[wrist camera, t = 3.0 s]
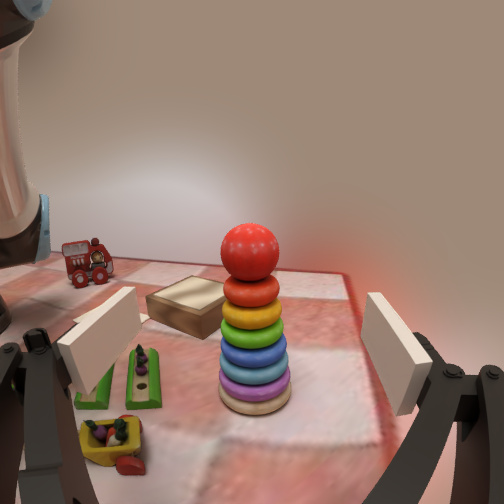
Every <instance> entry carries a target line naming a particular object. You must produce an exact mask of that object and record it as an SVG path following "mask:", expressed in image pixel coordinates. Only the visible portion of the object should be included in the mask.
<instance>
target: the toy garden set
mask: <svg viewBox="0 0 504 504" xmlns="http://www.w3.org/2000/svg"><path fill="white" fill-rule="evenodd" d="M114 363H115V362H114ZM113 369H114V364H113V365H112V366H111V367H110V369H109V370H108V371H107V372H106V374H105V375H104V376H103V377H102V379H101V380H100V381H99V382H98V384H97V385H96V386H95V387H94V389H93V390H92V391H91V393H90V394H89V395H86V394H82V393H79V392H77V393H76V397H75V401H74V405H75V407H76V409H108V404H109V396H110V389H111V382H112V375H113ZM11 384H12V382H11ZM13 387H14V386H13V384H12V388H13ZM125 405H126V409H127V410H137V409H152V408H162V402H161V389H160V375H159V356H158V352H157V351H156V350H155V349H153V348H149V349H147V350H144V349H143V348H142V347H141V345H139V344H138V346H137V348H136V350H135V349H134V350H132V351H131V352H130V356H129V366H128V376H127V389H126V404H125ZM83 421H84V420H83ZM77 432H78V436H79V440H80V445H81V449H82V453H83V456H84V457H86V458H88V459H90V460H92V461H94V462H96V463H98V464H100V465H102V466H105V467H111V466H113V465H115V464H116V470H117V471H118V473H120V474H122V475H144V474H145V467H144V463H143V461H142V460H140V459H138V458H136V457H133V455H134V456H136V455H137V454H138V453H139V452H140V450H141V443H140V433H141V432H142V423H141V421H140V419H139V417H137V416H133V415H122V416H120V417H119V418H118V419H111V420H101V421H92V420H87V421H84V422H82V424H81V430H77ZM23 449H24V450H25V448H24V445H23Z"/></svg>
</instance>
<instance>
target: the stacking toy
mask: <svg viewBox="0 0 504 504" xmlns="http://www.w3.org/2000/svg"><path fill="white" fill-rule="evenodd" d="M221 259H222V262H223V265H224V267H225V268H226V270H227V271H228V273H229V274H231V275H232V276H230V277H229V278H228V279H227V280H226V281H225V283H224V286H223V293H224V295H225V297H226V298H227V300H226V301H225V302H224V304H223V307H222V314H223V317H224V319H223V320H222V323H221V333H222V335H223V337H222V340H221V350H222V352H221V355H220V366H221V368H220V371H219V380H220V383H219V394H220V397H221V399H222V400H223V402H224V403H225V404H226V405H227V406H229V407H230V408H231V409H233V410H235V411H237V412H240V413H244V414H251V415H259V414H266V413H270V412H273V411H275V410H277V409H279V408H280V407H281V406H283V405H284V404H285V403H286V401H287V400H288V398H289V396H290V394H291V382H290V370H289V367H288V354H287V352H286V346H287V342H286V338H285V336H284V334H283V328H284V326H283V321H282V319H281V318H280V316H281V312H282V306H281V303H280V301H279V300H278V299H277V298H276V297H277V296H278V294H279V289H280V288H279V283H278V281H277V279H276V278H275V277H274V276H272V275H270V273H271V272H272V271H273V270H274V268H275V267H276V264H277V262H278V259H279V246H278V243H277V240H276V238H275V236H274V235H273V234H272V233H271V231H269V230H268V229H267V228H265V227H263V226H261V225H258V224H253V223H251V224H250V223H247V224H241V225H239V226H237V227H235V228H233V229H232V230H230V231H229V232H228V233H227V235H226V236H225V238H224V240H223V242H222V245H221Z"/></svg>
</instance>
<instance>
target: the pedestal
mask: <svg viewBox="0 0 504 504" xmlns="http://www.w3.org/2000/svg"><path fill="white" fill-rule="evenodd" d="M223 286H224V283H223V282H218V281H214V280H210V279H205V278H201V277H197V276H193V275H192V276H189V277H187V278H185V279H183V280H181V281H178V282H176V283H174V284H172V285H169V286H167V287H165V288H163V289H161V290H158V291H156V292H154V293H152V294H150V295H147V296H146V303H147V309H148V315H149V317H150V318H151V319H153V320H156V321H158V322H160V323H163V324H165V325H167V326H170V327H172V328H175V329H177V330H179V331H182V332H184V333H187V334H189V335H192V336H195V337H197V338H200V339H202V340H203V339H205V338H206V337H207V336H209V335H210V334H212V333H213V332H214V331H216V330H217V329H218V328H220V327H221V323H222V320H223V319H224V317H223V314H222V307H223V304H224V302H225V301H226V300H227V298H226V297H225V295H224V293H223Z"/></svg>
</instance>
